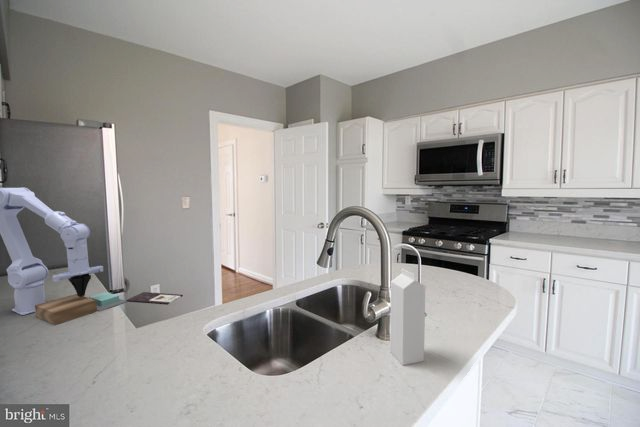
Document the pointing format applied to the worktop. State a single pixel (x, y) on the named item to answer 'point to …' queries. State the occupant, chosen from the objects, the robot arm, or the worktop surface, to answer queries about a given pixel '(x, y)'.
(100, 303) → the teal rectangular block
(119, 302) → the mat
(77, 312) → the brown flat block
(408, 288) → the milk
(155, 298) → the chocolate bar
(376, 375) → the worktop surface
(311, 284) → the worktop surface
